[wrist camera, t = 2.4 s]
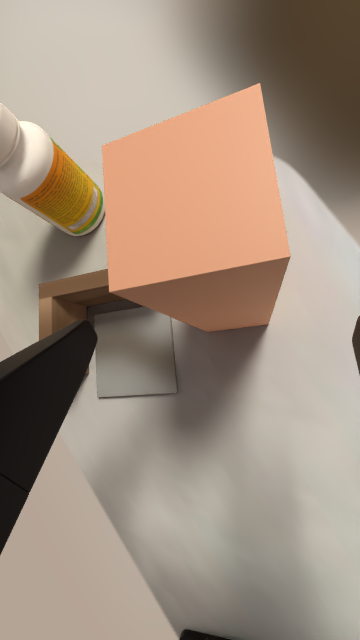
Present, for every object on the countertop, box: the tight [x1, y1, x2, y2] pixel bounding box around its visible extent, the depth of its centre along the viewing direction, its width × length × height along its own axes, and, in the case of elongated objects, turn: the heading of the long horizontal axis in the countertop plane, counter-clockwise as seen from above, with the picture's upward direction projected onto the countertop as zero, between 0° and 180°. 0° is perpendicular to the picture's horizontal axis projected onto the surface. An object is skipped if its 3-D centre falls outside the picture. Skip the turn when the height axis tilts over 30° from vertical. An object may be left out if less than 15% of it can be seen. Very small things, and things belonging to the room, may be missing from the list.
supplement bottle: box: [0, 102, 105, 236], centre depth 19 cm, size 5×5×10 cm
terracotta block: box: [102, 83, 290, 332], centre depth 12 cm, size 4×4×13 cm
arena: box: [39, 269, 178, 397], centre depth 19 cm, size 9×9×4 cm
